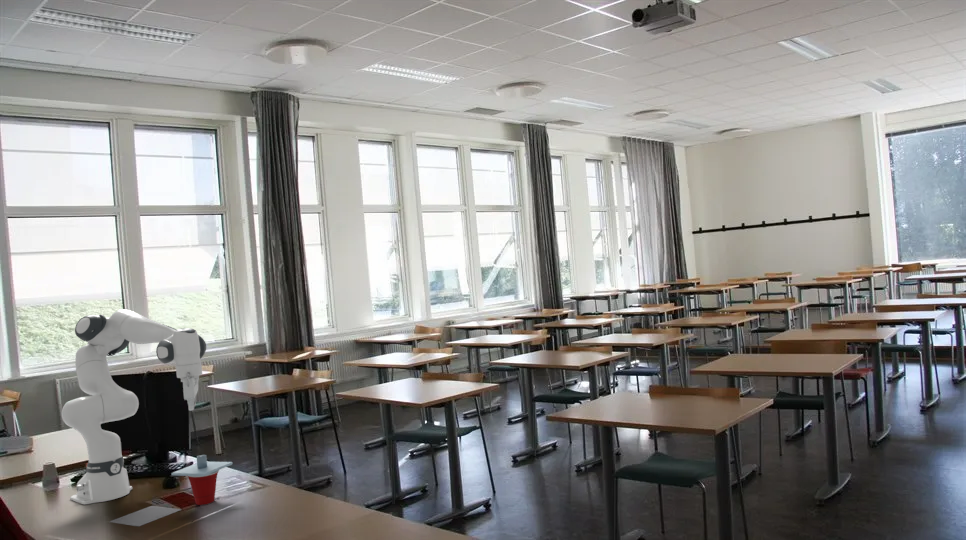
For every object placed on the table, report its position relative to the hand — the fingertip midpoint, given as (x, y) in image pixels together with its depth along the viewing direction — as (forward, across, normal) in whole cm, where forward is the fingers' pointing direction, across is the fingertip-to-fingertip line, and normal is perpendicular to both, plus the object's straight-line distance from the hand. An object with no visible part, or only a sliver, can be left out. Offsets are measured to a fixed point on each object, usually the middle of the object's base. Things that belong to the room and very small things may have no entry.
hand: (192, 408), depth 256 cm
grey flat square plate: (+31, -22, +16) cm, 41 cm away
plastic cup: (+31, -18, -3) cm, 37 cm away
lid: (+19, -18, -3) cm, 27 cm away
